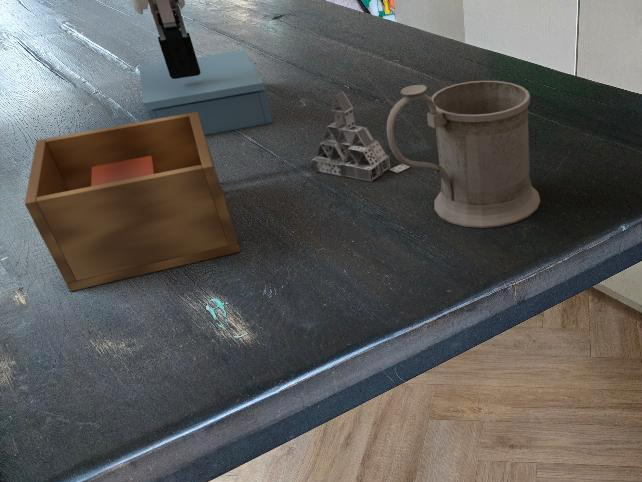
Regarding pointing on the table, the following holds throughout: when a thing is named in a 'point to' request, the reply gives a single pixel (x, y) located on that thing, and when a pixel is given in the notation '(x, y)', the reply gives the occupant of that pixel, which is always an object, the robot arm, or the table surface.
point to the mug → (477, 151)
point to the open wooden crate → (129, 202)
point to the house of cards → (351, 147)
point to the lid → (200, 81)
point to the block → (123, 170)
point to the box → (223, 112)
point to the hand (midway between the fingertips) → (185, 74)
